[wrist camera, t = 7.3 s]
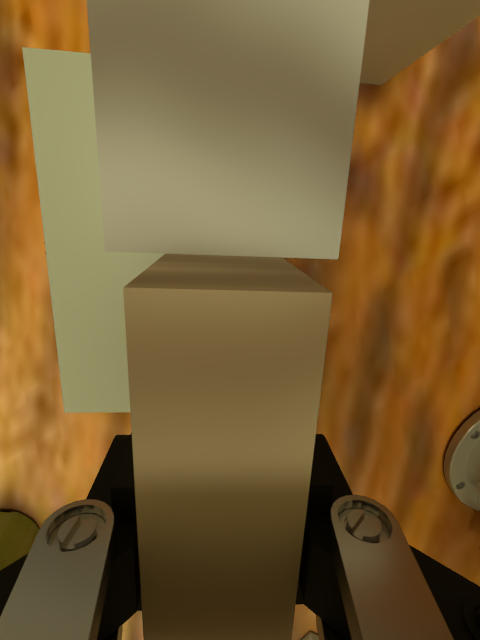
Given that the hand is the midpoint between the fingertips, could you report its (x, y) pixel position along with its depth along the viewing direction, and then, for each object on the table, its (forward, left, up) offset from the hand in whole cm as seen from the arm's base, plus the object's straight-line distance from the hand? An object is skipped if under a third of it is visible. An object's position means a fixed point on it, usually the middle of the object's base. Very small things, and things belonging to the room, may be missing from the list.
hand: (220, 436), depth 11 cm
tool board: (+3, +6, -17) cm, 18 cm away
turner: (+2, 0, -1) cm, 2 cm away
